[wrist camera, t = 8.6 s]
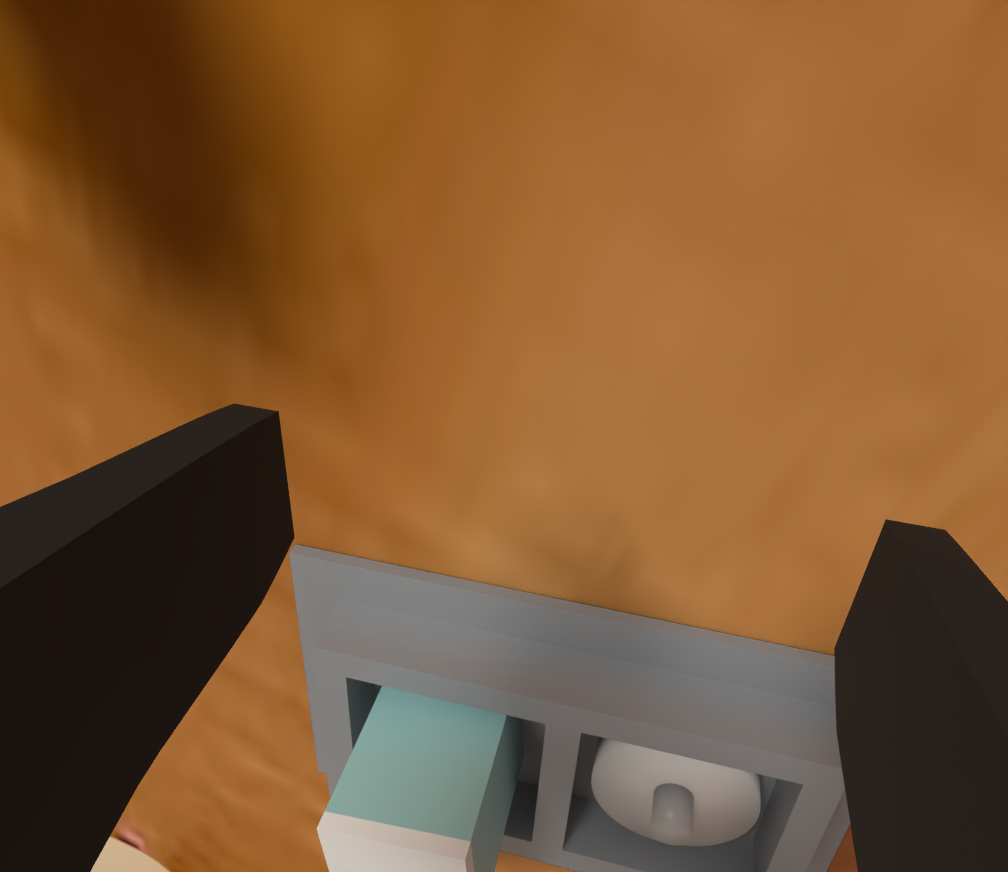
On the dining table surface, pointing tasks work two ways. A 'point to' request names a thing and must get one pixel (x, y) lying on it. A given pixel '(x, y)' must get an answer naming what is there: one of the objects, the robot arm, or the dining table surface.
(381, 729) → the teal and white block
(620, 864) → the housing
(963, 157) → the dining table surface
